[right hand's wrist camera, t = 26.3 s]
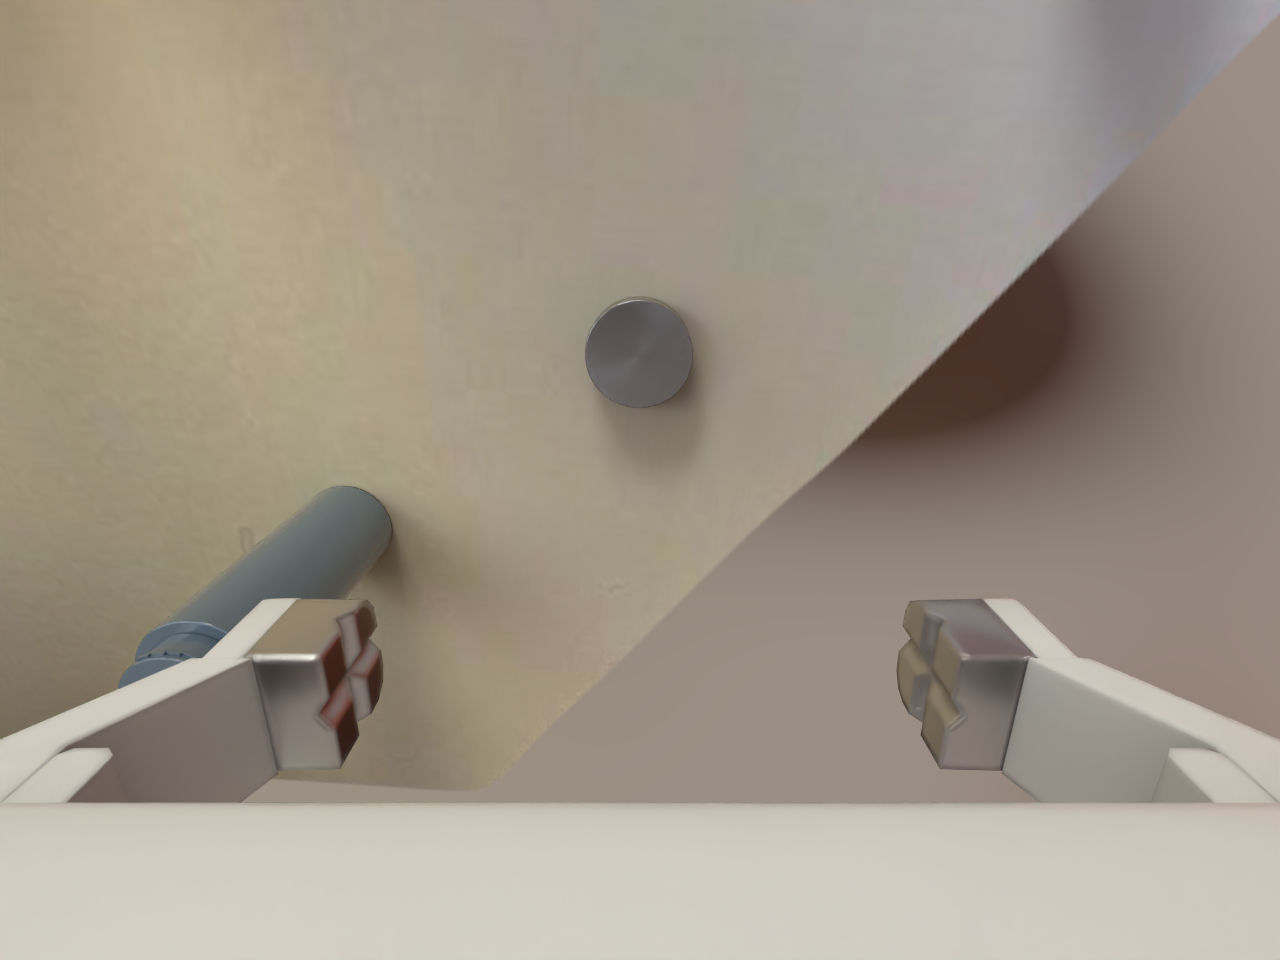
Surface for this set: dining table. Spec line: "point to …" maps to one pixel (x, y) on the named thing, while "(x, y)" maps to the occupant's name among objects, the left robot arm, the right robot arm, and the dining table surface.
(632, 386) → the lid
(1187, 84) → the dining table surface
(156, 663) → the bottle
